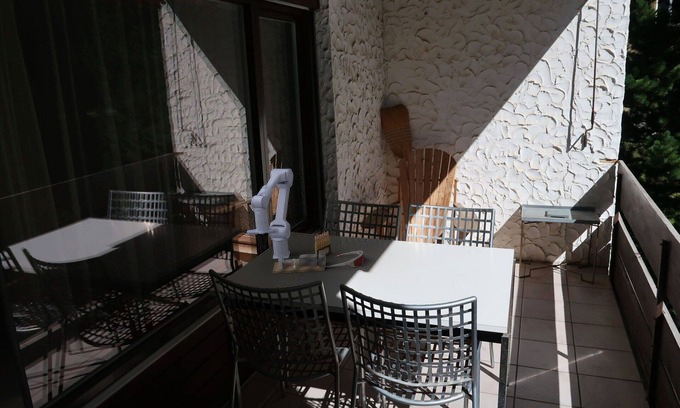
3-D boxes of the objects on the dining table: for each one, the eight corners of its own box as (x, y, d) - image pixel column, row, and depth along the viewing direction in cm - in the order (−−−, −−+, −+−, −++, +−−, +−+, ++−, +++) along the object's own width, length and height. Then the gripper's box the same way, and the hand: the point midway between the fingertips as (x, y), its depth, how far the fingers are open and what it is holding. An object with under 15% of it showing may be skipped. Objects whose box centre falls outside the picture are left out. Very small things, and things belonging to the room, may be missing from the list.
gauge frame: (272, 273, 255) (271, 261, 254) (275, 264, 267) (274, 252, 265) (325, 270, 255) (325, 257, 254) (326, 261, 267) (325, 249, 265)
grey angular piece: (278, 269, 255) (277, 261, 254) (280, 263, 264) (279, 255, 263) (299, 268, 255) (299, 260, 254) (300, 262, 264) (300, 254, 263)
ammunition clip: (317, 260, 270) (316, 236, 267) (314, 259, 271) (313, 235, 268) (331, 253, 278) (329, 230, 275) (328, 253, 279) (327, 230, 276)
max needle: (293, 268, 256) (292, 259, 255) (293, 267, 257) (293, 258, 256) (295, 268, 256) (294, 259, 255) (295, 267, 257) (294, 258, 256)
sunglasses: (359, 270, 253) (357, 259, 253) (325, 274, 260) (323, 263, 259) (369, 257, 269) (367, 247, 268) (337, 261, 275) (335, 252, 275)
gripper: (244, 224, 254) (247, 252, 258) (276, 222, 254) (278, 250, 258) (247, 220, 261) (249, 247, 264) (277, 218, 261) (280, 245, 264)
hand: (264, 248), depth 261 cm, fingers closed
